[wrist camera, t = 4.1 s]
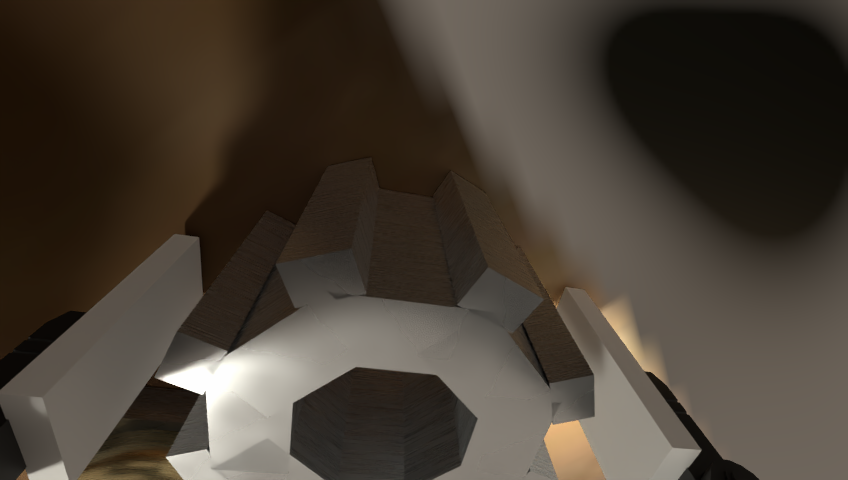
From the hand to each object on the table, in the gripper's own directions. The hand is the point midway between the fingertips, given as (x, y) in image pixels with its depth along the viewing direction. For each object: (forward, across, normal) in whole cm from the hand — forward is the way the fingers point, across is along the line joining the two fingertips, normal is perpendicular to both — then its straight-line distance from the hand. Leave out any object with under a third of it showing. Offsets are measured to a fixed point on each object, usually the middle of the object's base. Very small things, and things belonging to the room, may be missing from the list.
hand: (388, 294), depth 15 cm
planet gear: (0, 0, 0) cm, 0 cm away
